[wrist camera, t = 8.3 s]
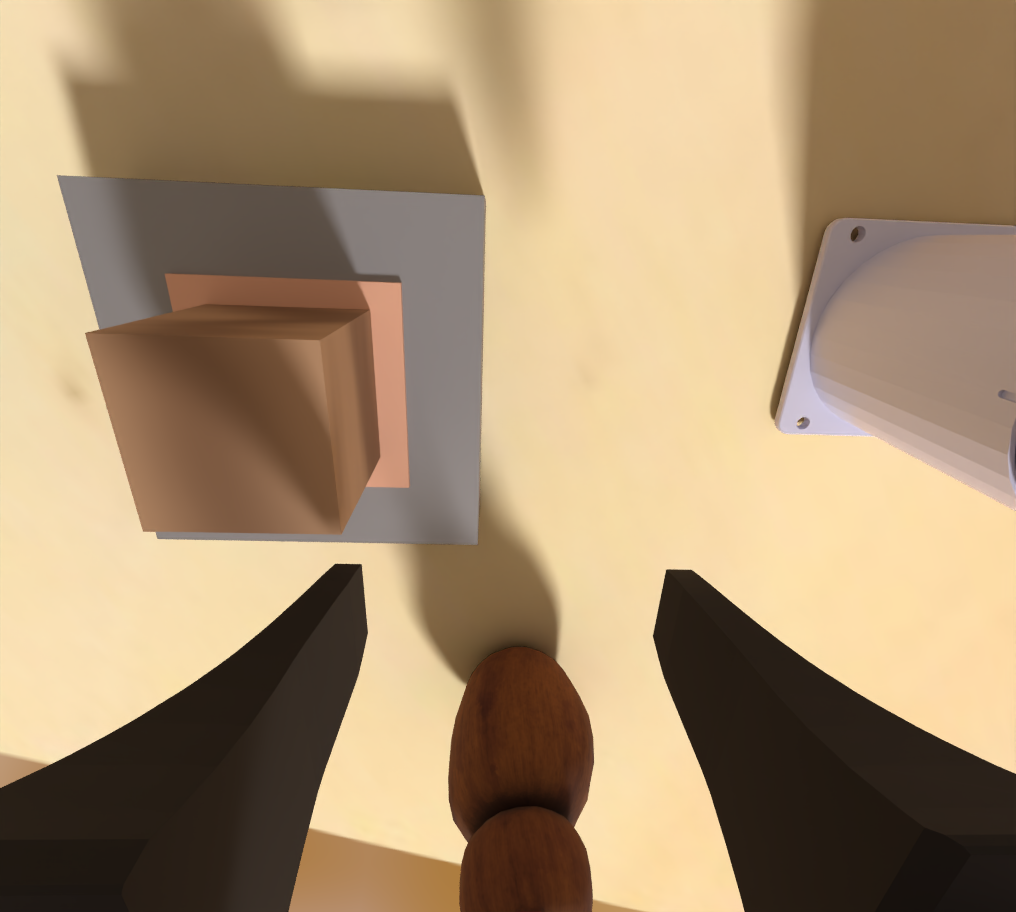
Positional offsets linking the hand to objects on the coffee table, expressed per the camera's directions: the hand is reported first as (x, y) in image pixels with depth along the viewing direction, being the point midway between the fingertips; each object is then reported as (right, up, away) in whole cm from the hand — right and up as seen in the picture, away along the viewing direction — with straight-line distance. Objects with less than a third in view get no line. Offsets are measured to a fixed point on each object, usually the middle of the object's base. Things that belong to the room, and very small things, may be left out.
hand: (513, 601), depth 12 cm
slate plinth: (-7, +7, +8) cm, 12 cm away
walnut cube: (-7, +6, +5) cm, 10 cm away
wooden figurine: (0, -8, +15) cm, 16 cm away
